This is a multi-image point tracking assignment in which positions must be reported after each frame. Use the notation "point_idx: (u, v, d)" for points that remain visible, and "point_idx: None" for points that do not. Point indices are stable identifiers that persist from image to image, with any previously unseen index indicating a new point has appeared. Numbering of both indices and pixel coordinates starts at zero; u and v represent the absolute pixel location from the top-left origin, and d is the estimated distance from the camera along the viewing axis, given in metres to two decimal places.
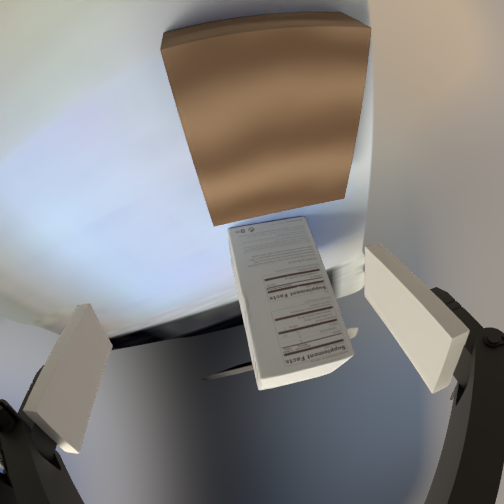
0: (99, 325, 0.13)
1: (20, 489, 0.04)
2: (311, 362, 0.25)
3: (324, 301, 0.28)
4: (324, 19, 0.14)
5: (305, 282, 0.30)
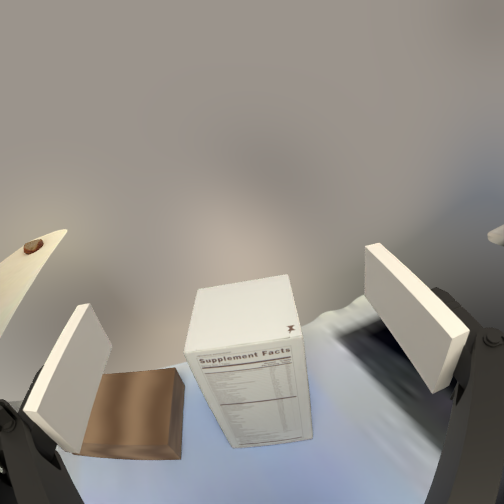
0: (99, 325, 0.13)
1: (20, 489, 0.04)
2: None
3: None
4: None
5: None
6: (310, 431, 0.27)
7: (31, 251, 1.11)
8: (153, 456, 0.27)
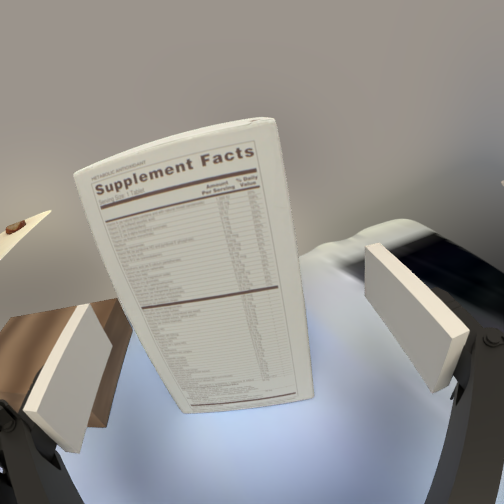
0: (99, 325, 0.13)
1: (20, 489, 0.04)
2: None
3: None
4: None
5: None
6: (309, 381, 0.17)
7: (12, 231, 1.00)
8: None
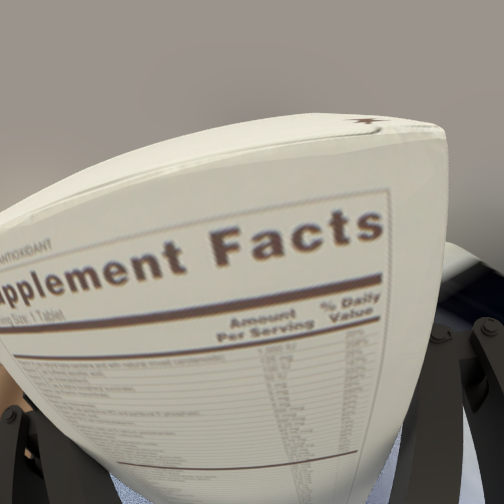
0: None
1: (51, 474, 0.05)
2: None
3: None
4: None
5: None
6: (362, 502, 0.09)
7: None
8: None
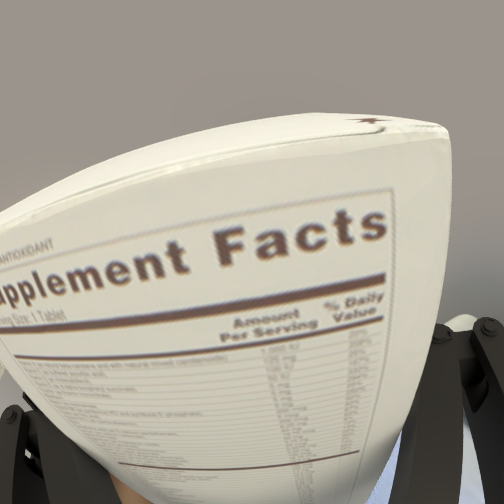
0: None
1: (51, 474, 0.05)
2: None
3: None
4: None
5: None
6: (363, 502, 0.09)
7: None
8: None
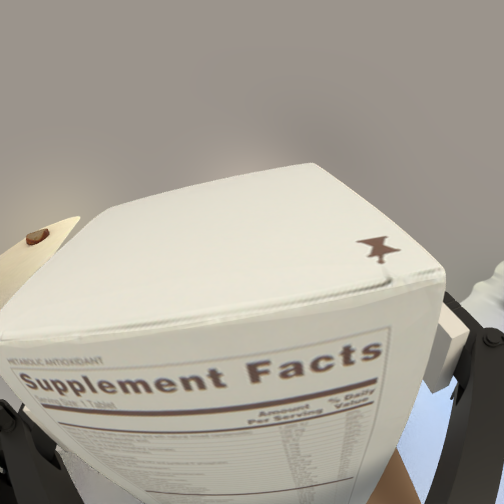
0: None
1: (20, 489, 0.04)
2: None
3: None
4: None
5: None
6: None
7: (35, 241, 0.95)
8: None
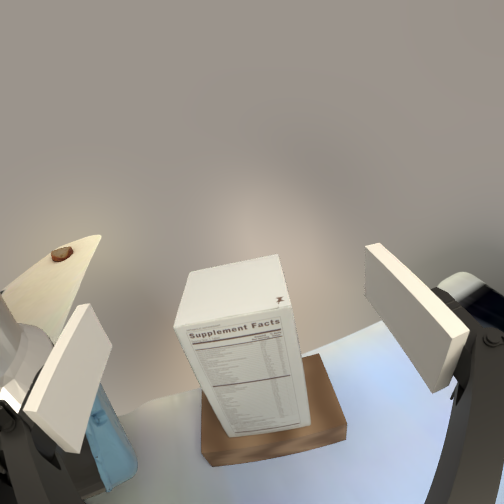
0: (99, 325, 0.13)
1: (20, 489, 0.04)
2: None
3: None
4: None
5: None
6: (307, 416, 0.27)
7: (61, 259, 1.13)
8: (319, 444, 0.28)
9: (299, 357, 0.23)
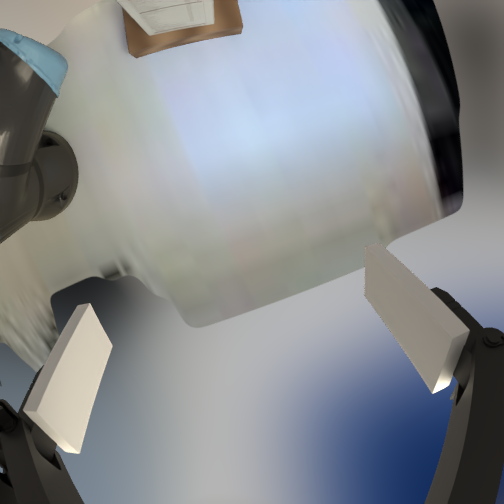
0: (99, 325, 0.13)
1: (20, 489, 0.04)
2: None
3: None
4: None
5: None
6: (212, 20, 0.30)
7: None
8: (220, 35, 0.35)
9: None
